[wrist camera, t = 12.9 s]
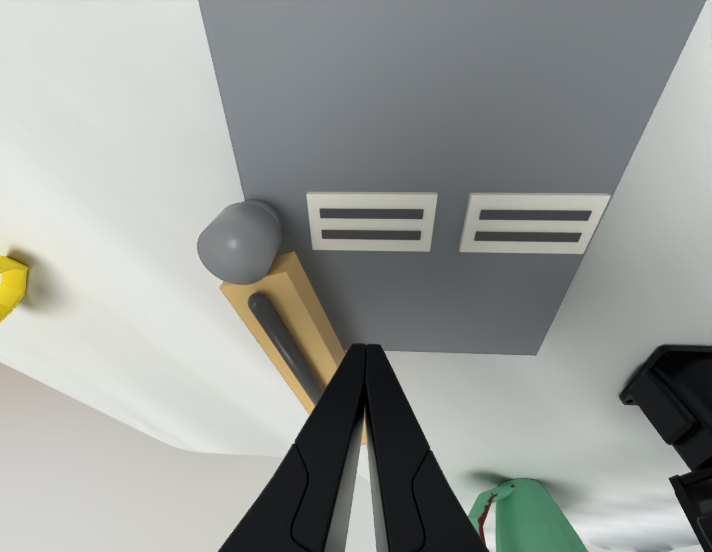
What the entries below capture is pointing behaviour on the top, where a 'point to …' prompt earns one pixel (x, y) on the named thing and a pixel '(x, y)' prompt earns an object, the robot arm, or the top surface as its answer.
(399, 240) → the panel
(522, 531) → the mug
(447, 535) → the robot arm
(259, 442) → the top surface
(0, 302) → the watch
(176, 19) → the top surface
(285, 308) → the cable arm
